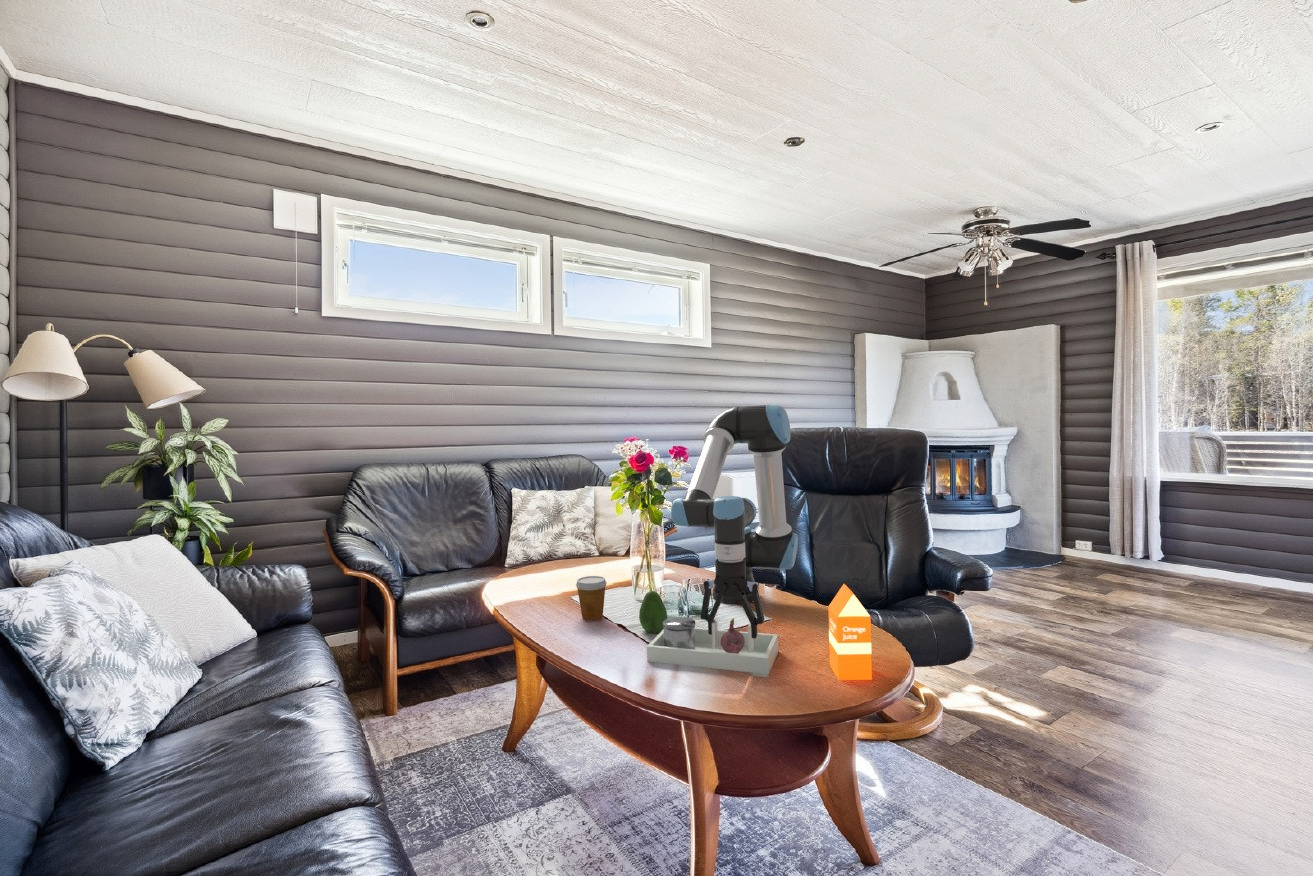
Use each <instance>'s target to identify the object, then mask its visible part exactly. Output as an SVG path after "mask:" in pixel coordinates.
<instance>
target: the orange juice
mask: <svg viewBox="0 0 1313 876" xmlns="http://www.w3.org/2000/svg"><path fill="white" fill-rule="evenodd" d="M871 622H872V621H871V615H870V614H869V613H868V611H867V609H865V607H864V606H863V605H862V603H861V602H860V600H859V599H858V597H856V595H855V594H854V593H853V591H852V590H851V589H850V588H849V587H848V586H847V585H846V584H845V583H843V585H841V587H840V588H839V590H838V592H837V593H836V594H835V596H834V598H833V599H832V601H831V602H830V604H829V605H828V641H829V645H828V647H829V666H830V667H831V669H832V671H833V672H834V675H835V677H836V678H837V680H838V681H862V680H863V681H868V680H869V681H872V680H873V676H872V675H873V671H872V669H873V667H872V664H873V663H872V632H871V631H872V630H871V629H872V623H871Z"/></svg>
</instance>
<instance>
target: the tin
mask: <svg viewBox="0 0 1313 876" xmlns="http://www.w3.org/2000/svg"><path fill="white" fill-rule="evenodd" d="M695 626H696V620H695V619H693V618H690V617H686V616H685V617H683V616H674V617H669V618H667V619H666V620H664V621H663V627H664V647H675V648H685V649H695V628H696V627H695Z"/></svg>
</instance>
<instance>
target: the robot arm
mask: <svg viewBox="0 0 1313 876" xmlns="http://www.w3.org/2000/svg"><path fill="white" fill-rule="evenodd" d="M703 434H704V435H703V443H704V444H703V447H702V449H701V453H700V455H699V458H698V461H697V463H696V466H695V469H694V472H693V474H692V476H691V479H690V482H689V485H688V488H687V491H686V494H685V496H684V497H680V498H679V497H678V498H676V499H674V500H673V501H672V504H671V509H670V515H671V519H672V520H671V521H672V522H673V523H674V525H676V526H678V527H679V526H681V527H688V528H691V527H693V528H694V527H697V528H701V527H702V528H713V531H714V558H716V560H715V564H714V565H715V568H714V569H715V578H714V579H710V578H706V579H705V581H703V587H704V590H703V591H704V592H703V598H702V605H701V612H700V616H699V617H700V619H701V620H705V621H706V622H707V629H708V633H709V634H710V635H712V647H713V649H716V648H717V646H718V630H719V629H718V620H717V619H715V617H716V615H717V613H718V611H719V609H720V606H721V604H722V603H725V604H741V607H742V609H743V611H744V613H745V615H746V618H747V619H748V621H749V624H748V625H747V632H748V648H749V653H752V651H753V649H754V641H753V638H755V639H756V637H757V633H758V625H762V624H763V623H764V621H765V614H764V611H763V606H762V601H761V595H760V593H759V589H760V583H759V582H758V581H755V578H754V576H753V568H754V569H770V570H778V571H779V570H780V571H781V570H791V569H793V567H794V565H795V562H796V559H797V554H798V553H797V552H798V546H799V545H798V544H799V543H798V542H799V536H798V534H797V533H795V532H793V529H792V528H793V527H792V526H791V525H790V524H789V523H787V514H786V501H785V500H786V499H785V487H784V471H783V470H784V469H783V459H782V458H783V457H782V452H784V450H785V449H786V448H787V445H786V444H788V443H789V442H790V441H791V437H792V435H791V425H790V420H789V415H788V413H787V411H786V409H785V408H784V406H782V405H771V404H766V405H765V404H763V405H747V406H746V405H745V406H741V405H740V406H738V405H737V406H732V407H730V408H728V409H725V410H724V411H722V412H720V413H719V414H717V416H716V417H714V418H713V419H712V421H711V422H710V423H709V425H707V428H706V429H705V432H704V433H703ZM736 444H737V445H738V444H747V449H748V451H749V452H750V453H751V454H752V455H753V461H754V462H753V464H754V473H755V474H754V475H755V485H756V486H755V487H756V498H757V507H756V505H755V503H754V501H752V500H751V499H749V498H747V497H741V496H737V495H736V496H735V495H728V496H727V495H725V496H724V495H723V496H718V497H716V498H714V495H715V493H716V490H717V486H718V484H719V480H720V477H721V475H722V471H723V469H724V466H725V462H726V459H727V457H728V454H729V452H730V451H731V450H733V448H734V446H735V445H736ZM757 509H758V510H757ZM757 512H758V523H759V524H758V525H757V526H756V527H755V528H754V530H755V531H752V528H751V527H750V525H752V523H753V522H754V521H755V519H756V517H757ZM711 595H712V598H713V600H715V601H714V603H713V605H712V608H711V611H710V612H709V607H710V602H711ZM750 603H753V606H754V610H755V611H753V608H752V607H751V604H750ZM708 612H709V613H708ZM754 612H755V613H754Z"/></svg>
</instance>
